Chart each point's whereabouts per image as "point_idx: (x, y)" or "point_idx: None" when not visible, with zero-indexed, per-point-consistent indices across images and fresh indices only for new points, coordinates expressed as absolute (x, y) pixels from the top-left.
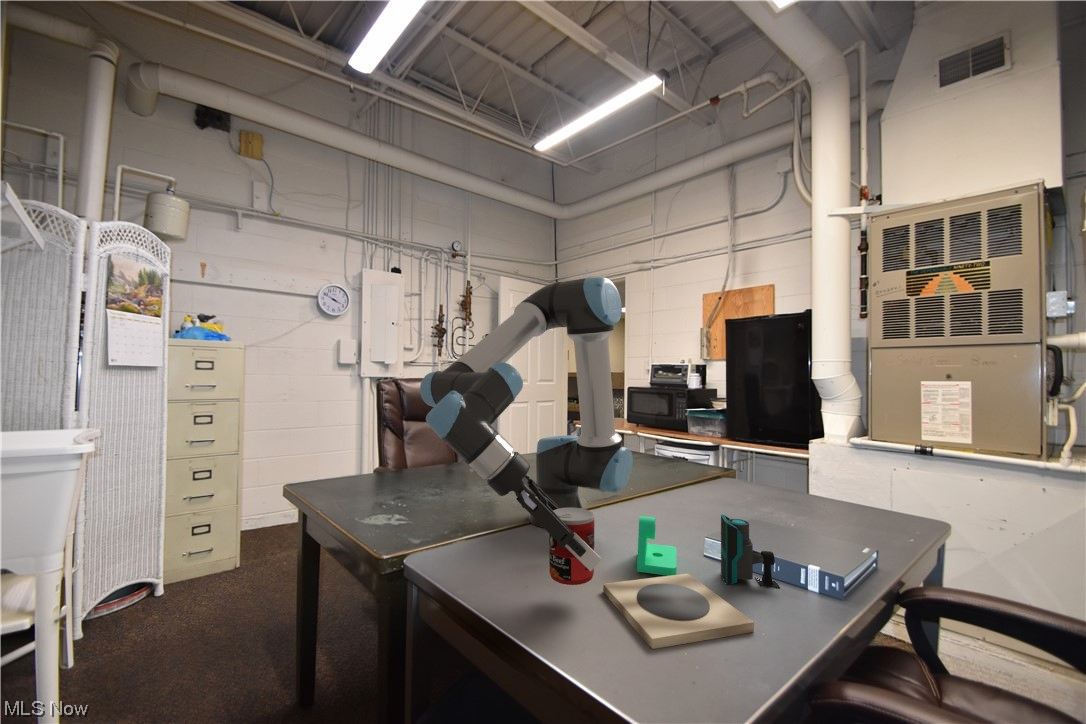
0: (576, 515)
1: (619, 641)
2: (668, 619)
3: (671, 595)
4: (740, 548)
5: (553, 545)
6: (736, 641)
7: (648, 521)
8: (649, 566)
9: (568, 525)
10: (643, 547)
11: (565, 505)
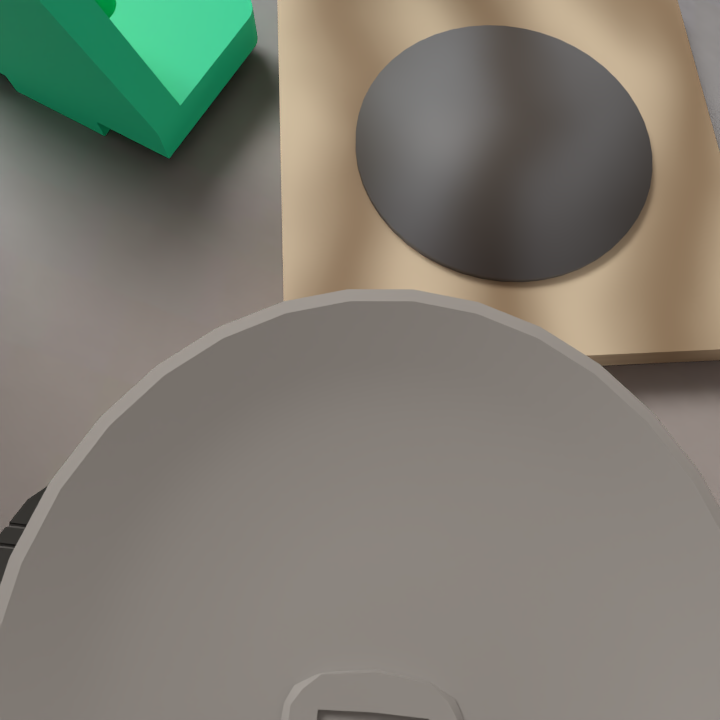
0: (387, 580)
1: (693, 461)
2: (638, 226)
3: (468, 130)
4: None
5: None
6: (703, 78)
7: None
8: (194, 93)
9: None
10: (110, 37)
11: None
